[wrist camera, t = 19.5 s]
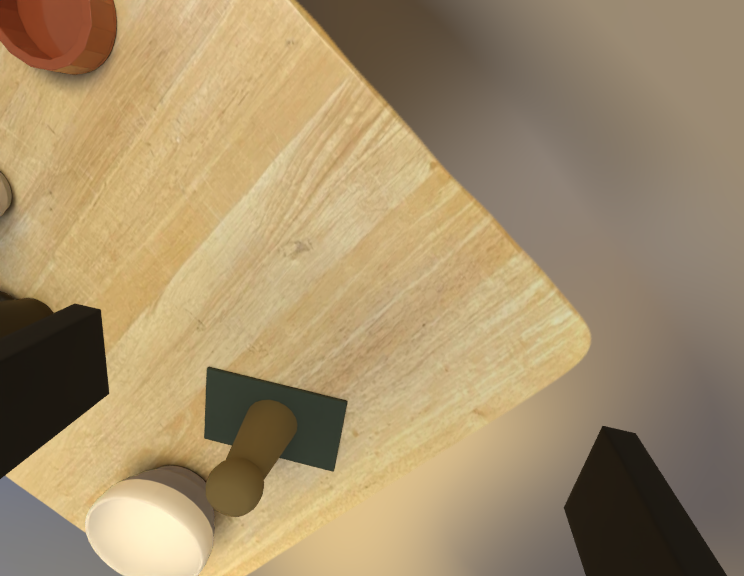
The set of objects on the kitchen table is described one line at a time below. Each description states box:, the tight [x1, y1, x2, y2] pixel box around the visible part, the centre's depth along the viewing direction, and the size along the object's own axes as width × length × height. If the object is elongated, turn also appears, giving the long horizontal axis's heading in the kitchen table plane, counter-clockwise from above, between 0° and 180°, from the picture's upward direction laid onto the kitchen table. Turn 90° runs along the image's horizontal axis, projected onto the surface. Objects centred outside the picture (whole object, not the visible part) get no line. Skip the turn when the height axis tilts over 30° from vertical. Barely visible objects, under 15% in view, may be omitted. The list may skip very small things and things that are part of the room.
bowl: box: [85, 465, 215, 576], centre depth 50 cm, size 14×14×8 cm
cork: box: [206, 400, 297, 517], centre depth 41 cm, size 6×6×11 cm
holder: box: [0, 0, 116, 75], centre depth 33 cm, size 10×10×3 cm
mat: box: [204, 367, 347, 471], centre depth 47 cm, size 16×10×1 cm, turn 80°
